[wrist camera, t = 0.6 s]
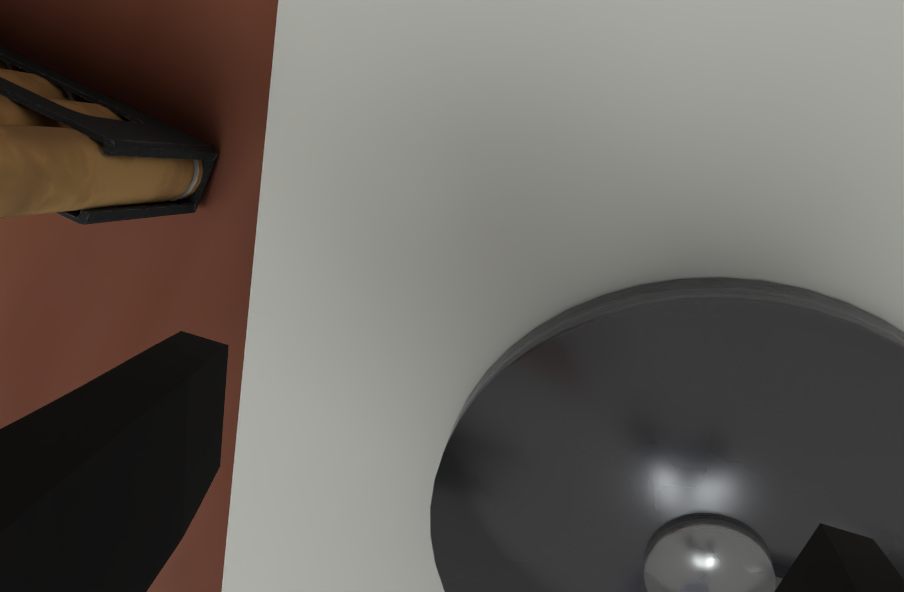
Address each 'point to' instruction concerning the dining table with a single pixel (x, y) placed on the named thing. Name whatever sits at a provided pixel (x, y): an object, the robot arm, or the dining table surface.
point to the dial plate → (523, 224)
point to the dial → (674, 443)
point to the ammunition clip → (89, 152)
